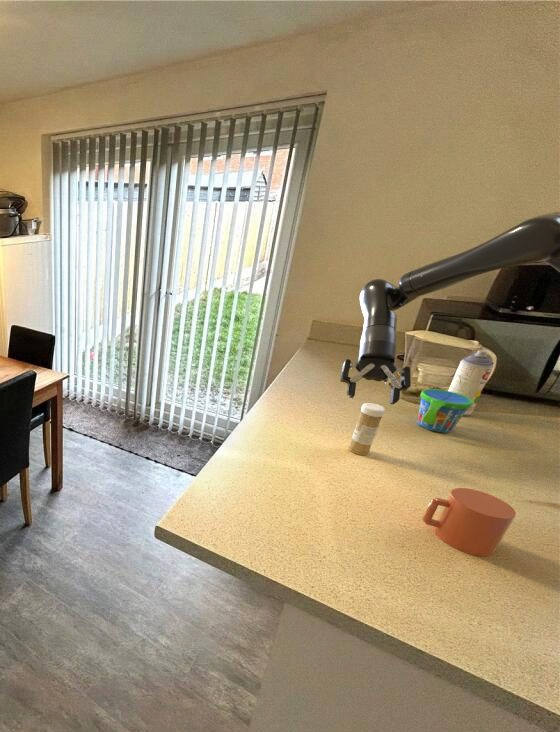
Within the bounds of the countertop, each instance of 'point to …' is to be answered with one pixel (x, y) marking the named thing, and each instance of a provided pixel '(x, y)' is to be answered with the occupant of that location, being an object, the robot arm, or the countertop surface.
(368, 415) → the brown spice jar
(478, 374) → the aerosol can
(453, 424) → the snack cup
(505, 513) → the upturned cup
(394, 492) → the countertop surface
